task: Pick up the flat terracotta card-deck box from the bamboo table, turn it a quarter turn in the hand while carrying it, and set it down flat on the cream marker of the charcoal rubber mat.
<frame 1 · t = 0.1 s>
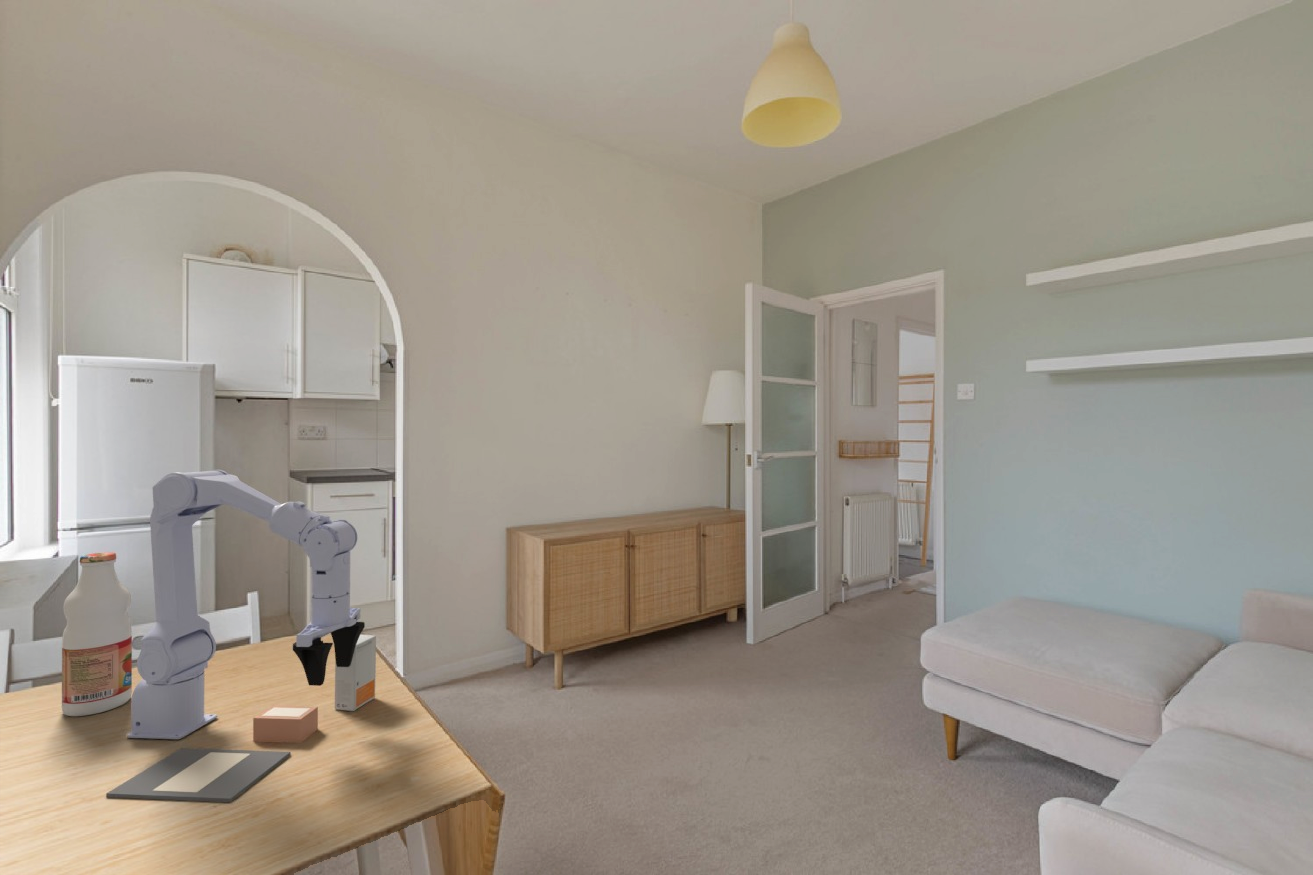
hand: (330, 675, 99), 10 cm above the table, tool pointing down, fingers open, 7 cm apart
fruit juice: (97, 706, 109), on the table
charcoal mat: (204, 774, 87), on the table
skincare box: (355, 704, 110), on the table
card deck: (286, 736, 99), on the table
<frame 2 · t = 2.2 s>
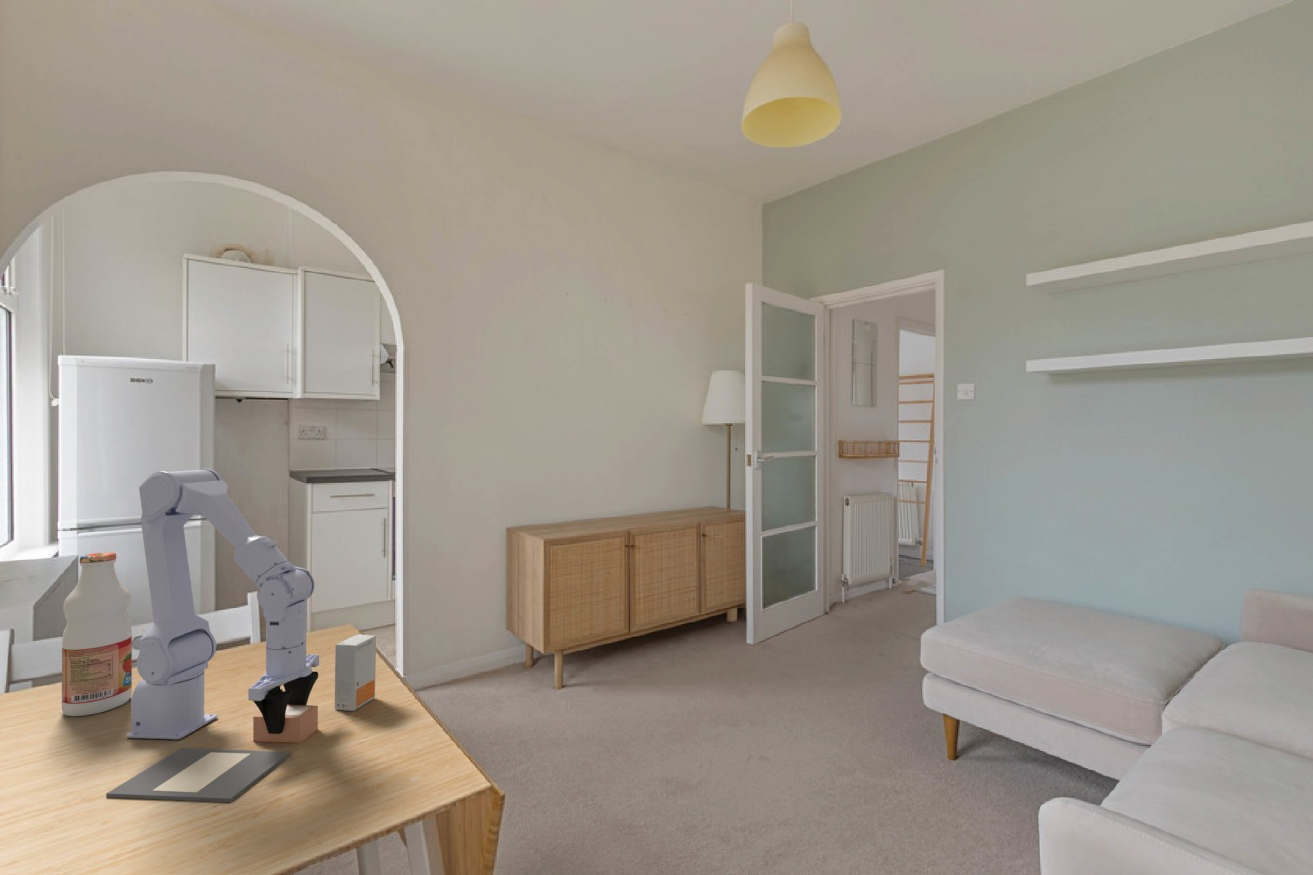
hand: (286, 725, 99), 2 cm above the table, tool pointing down, fingers closed on card deck, 4 cm apart
card deck: (286, 734, 99), on the table, touching gripper
everything else where it was.
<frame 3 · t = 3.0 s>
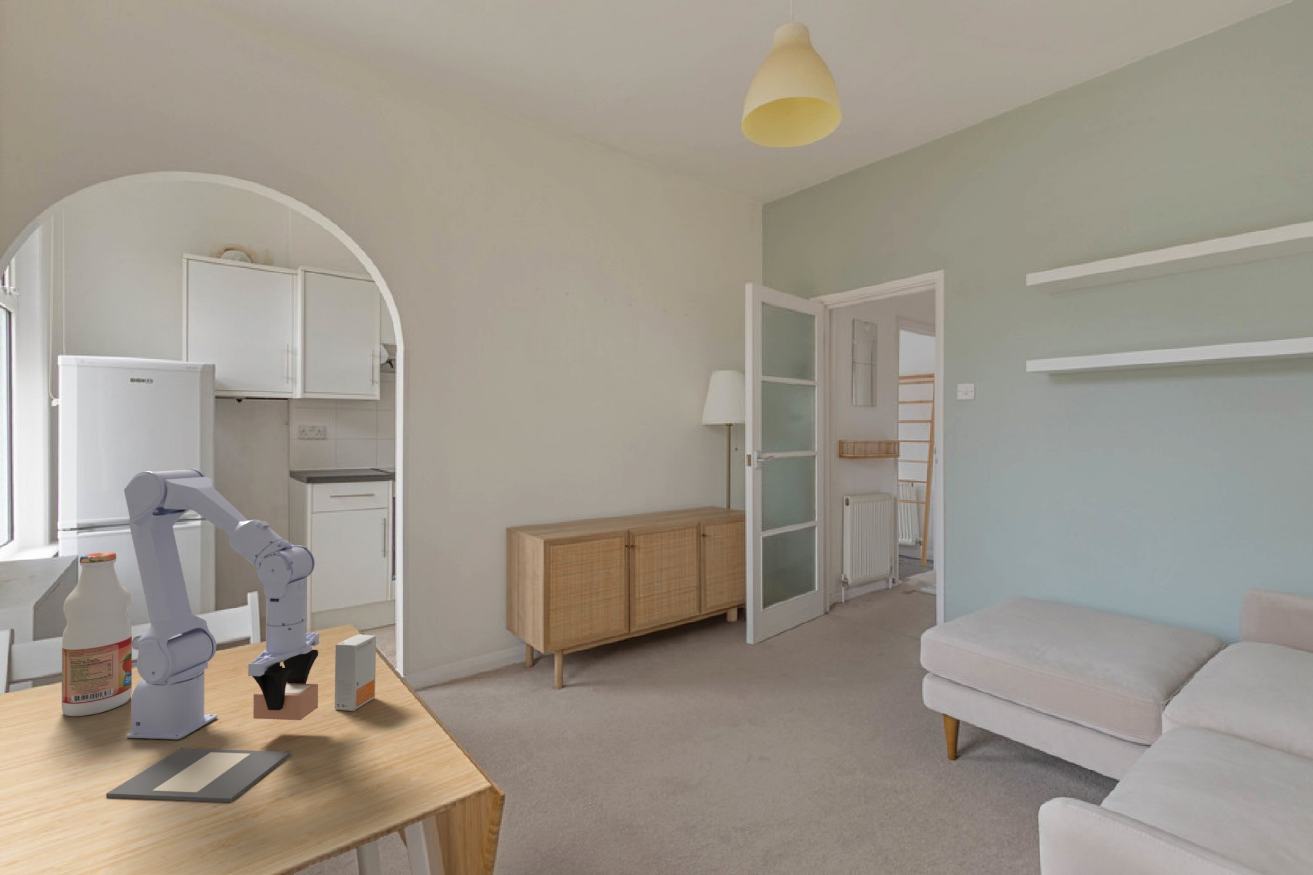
hand: (285, 702, 99), 5 cm above the table, tool pointing down, fingers closed on card deck, 4 cm apart
card deck: (286, 712, 99), point 4 cm above the table, touching gripper
everything else where it was.
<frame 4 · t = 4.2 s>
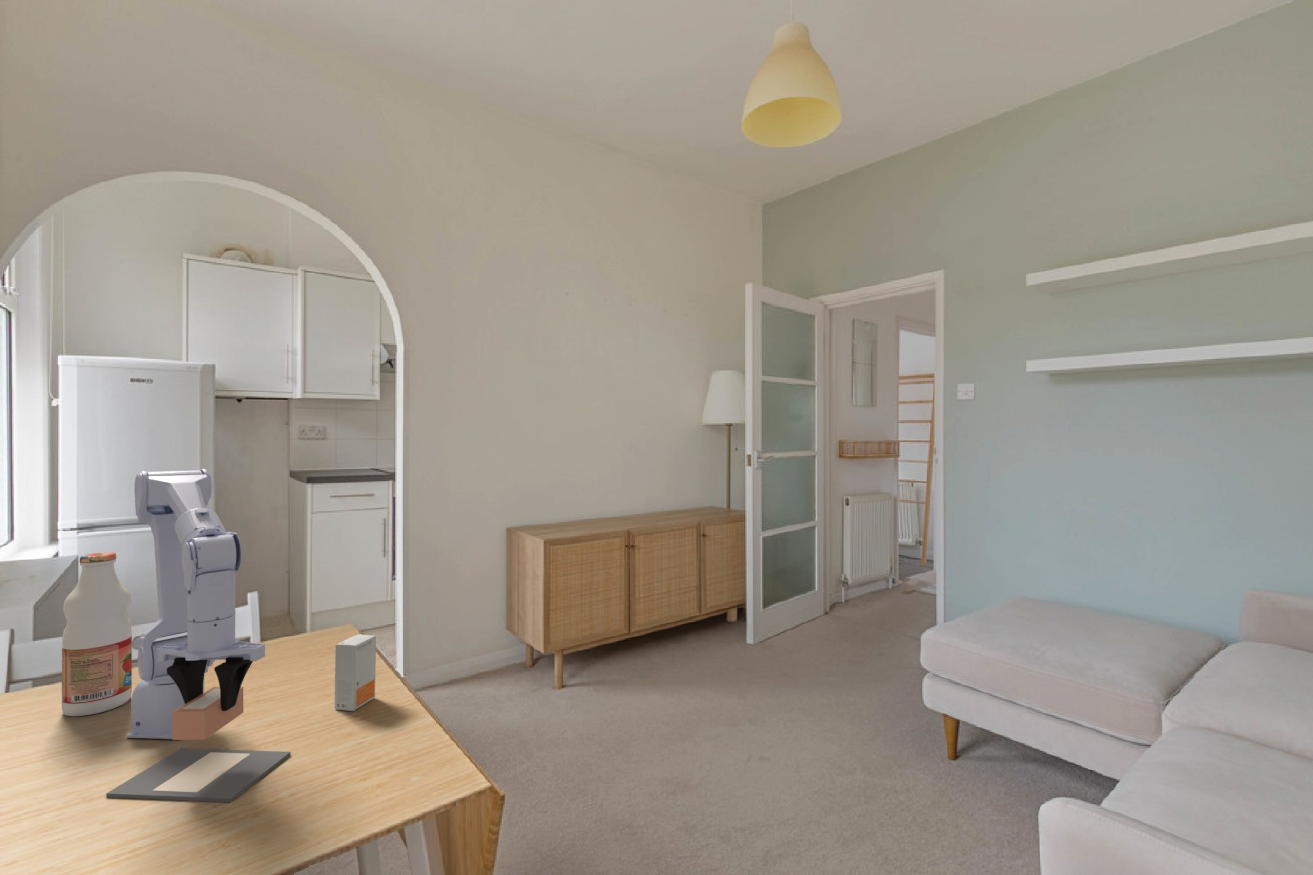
hand: (211, 707, 88), 9 cm above the table, tool pointing down, fingers closed on card deck, 4 cm apart
card deck: (209, 725, 87), point 7 cm above the table, touching gripper
everything else where it was.
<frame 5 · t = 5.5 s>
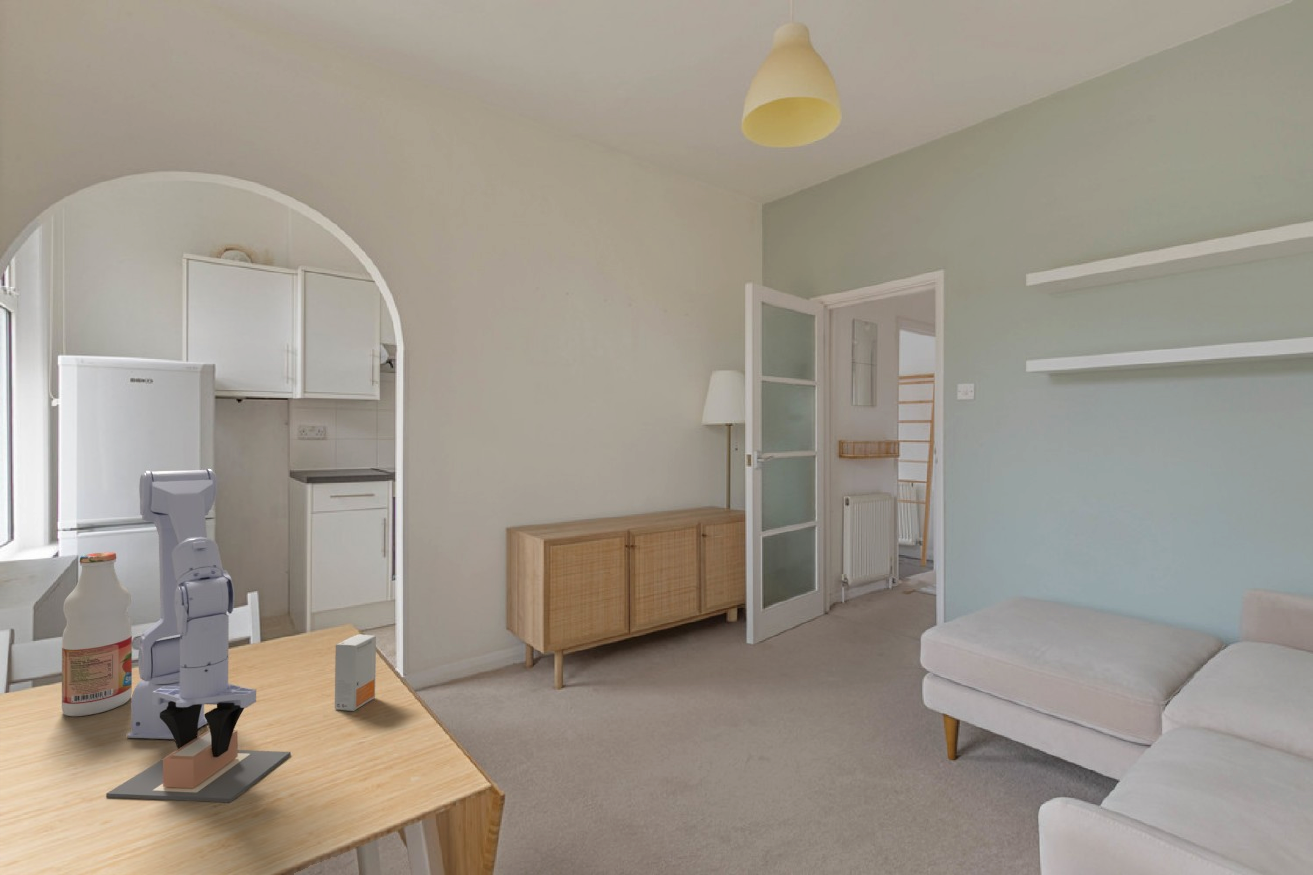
hand: (204, 752, 87), 3 cm above the table, tool pointing down, fingers closed on card deck, 4 cm apart
card deck: (202, 770, 87), point 1 cm above the table, touching gripper
everything else where it was.
when the fingers open (3 cm above the table, at t = 6.4 s): card deck stays where it is, resting on charcoal mat.
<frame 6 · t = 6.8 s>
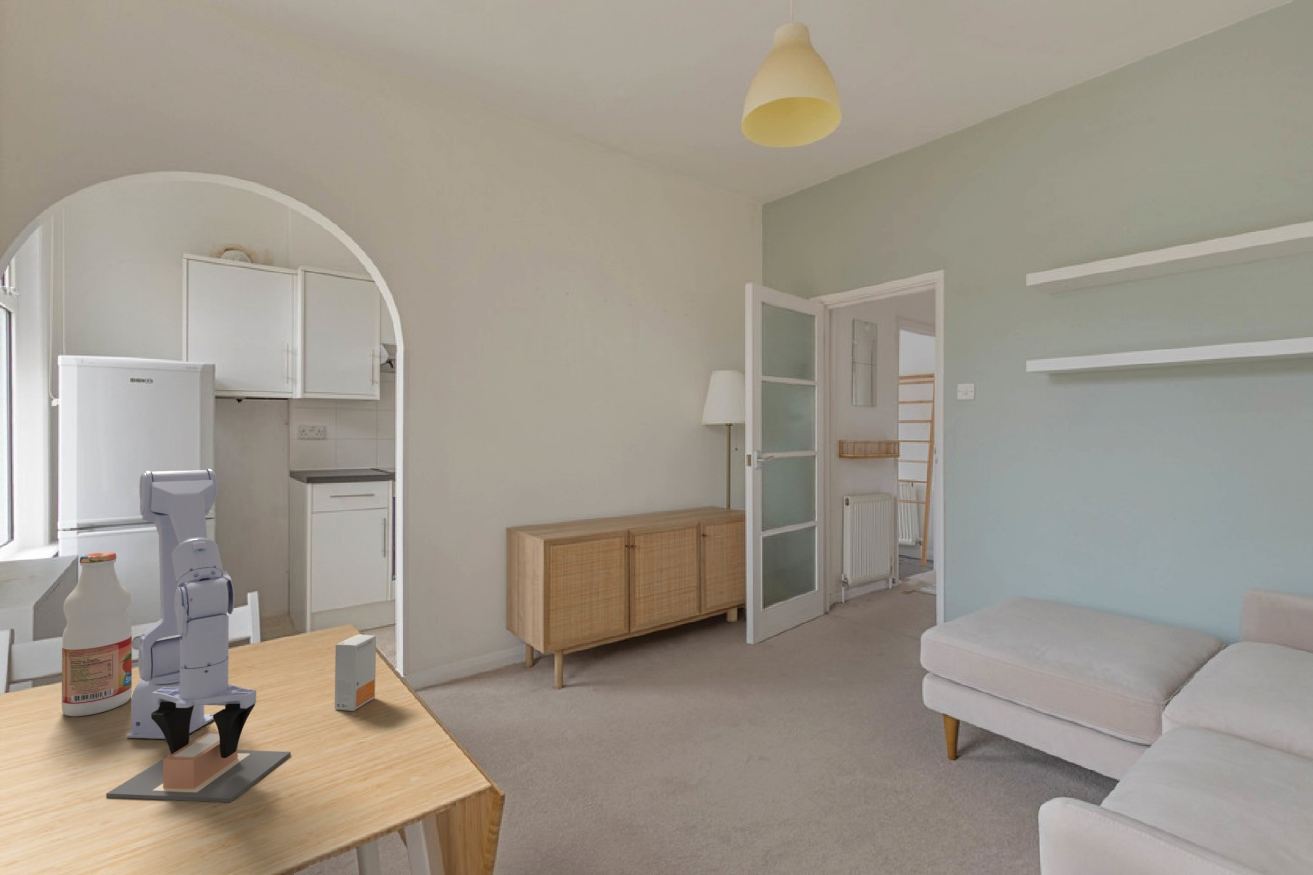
hand: (204, 753, 87), 3 cm above the table, tool pointing down, fingers open, 7 cm apart
card deck: (202, 772, 87), point 1 cm above the table, touching charcoal mat
everything else where it was.
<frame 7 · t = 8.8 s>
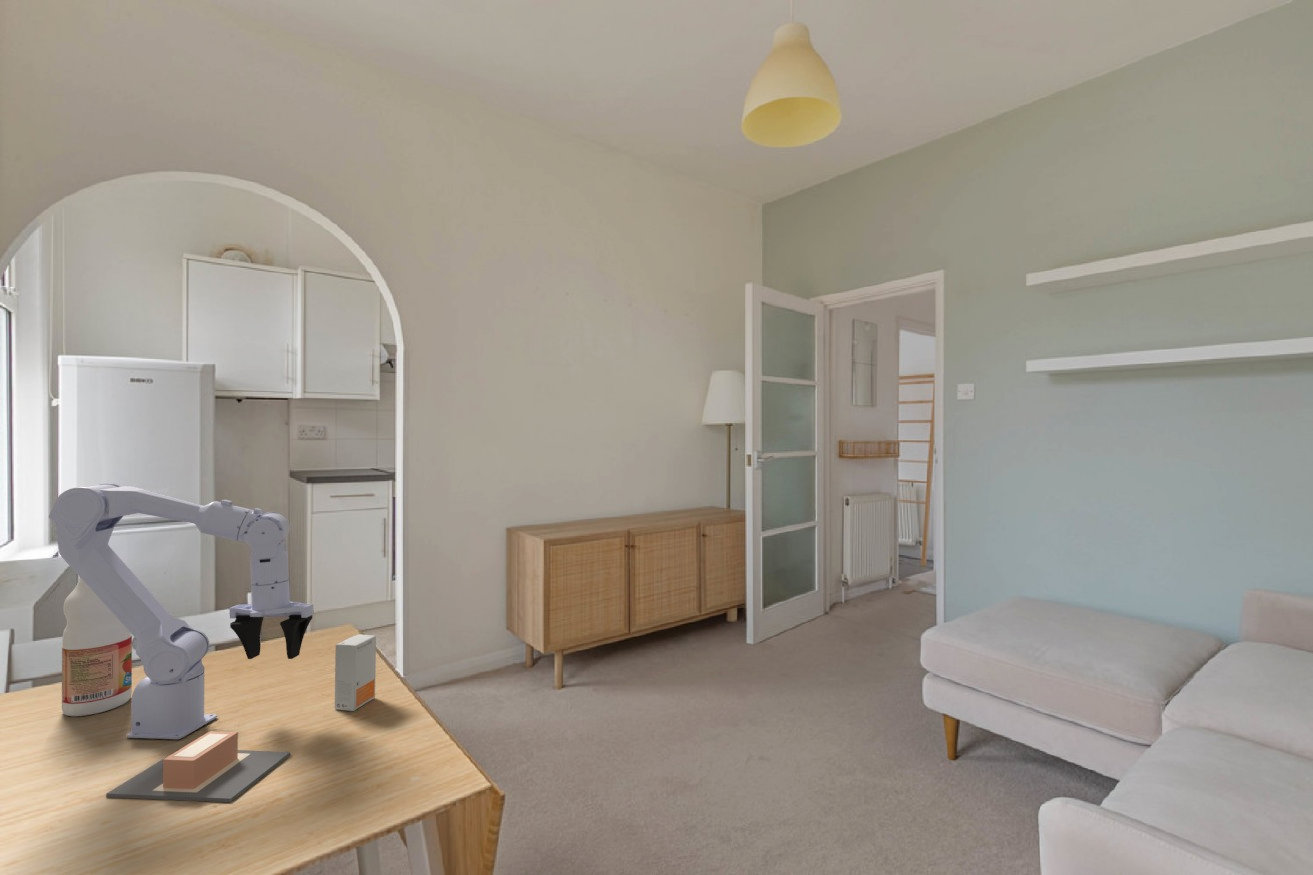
hand: (273, 656, 106), 10 cm above the table, tool pointing down, fingers open, 7 cm apart
nothing on the table moved.
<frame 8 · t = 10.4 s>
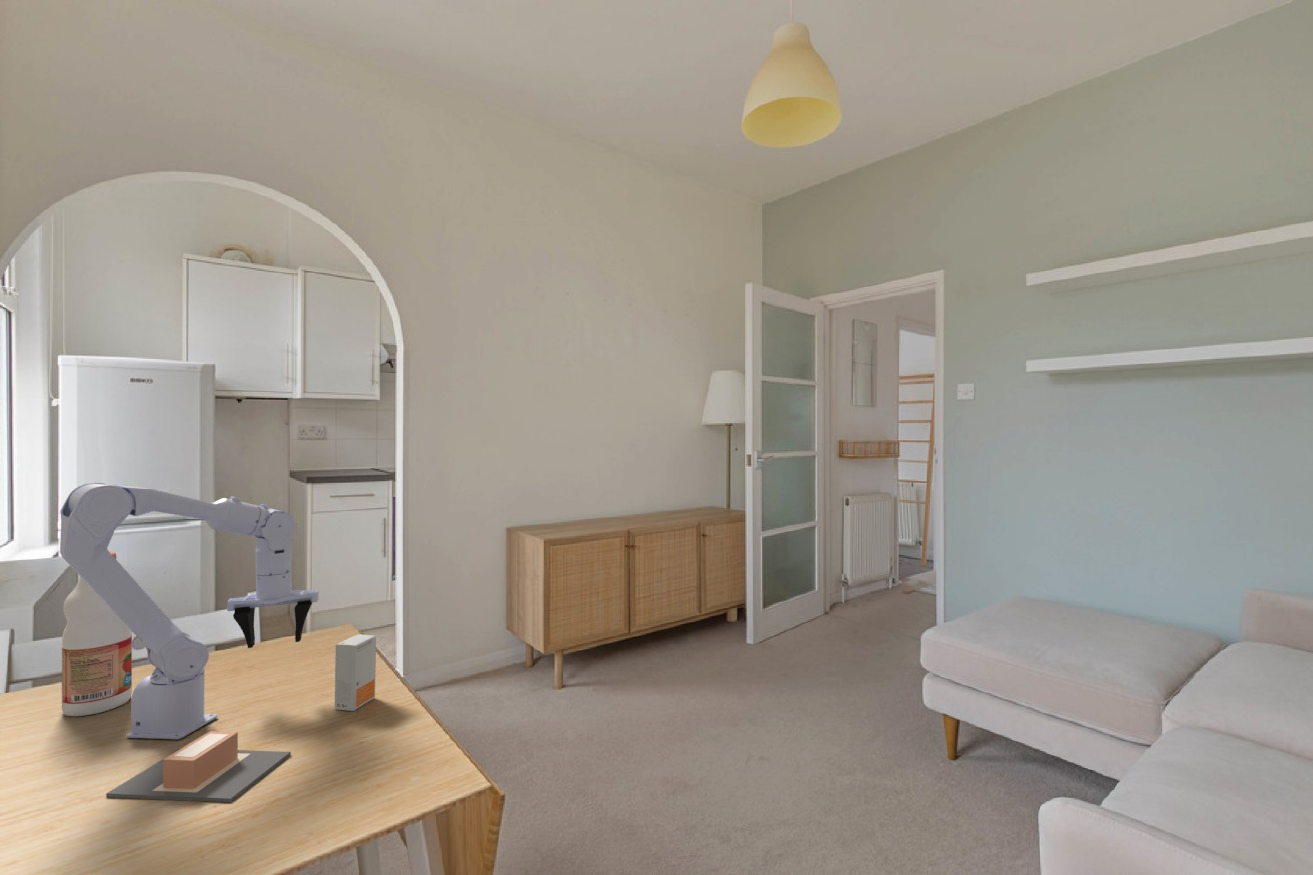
hand: (275, 643, 113), 10 cm above the table, tool pointing down, fingers open, 7 cm apart
nothing on the table moved.
at the end: card deck inside the target area on the charcoal mat (0.4 cm from its centre), point 0.5 cm above the charcoal mat's base; card deck tilted 0°; the gripper is holding nothing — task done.
